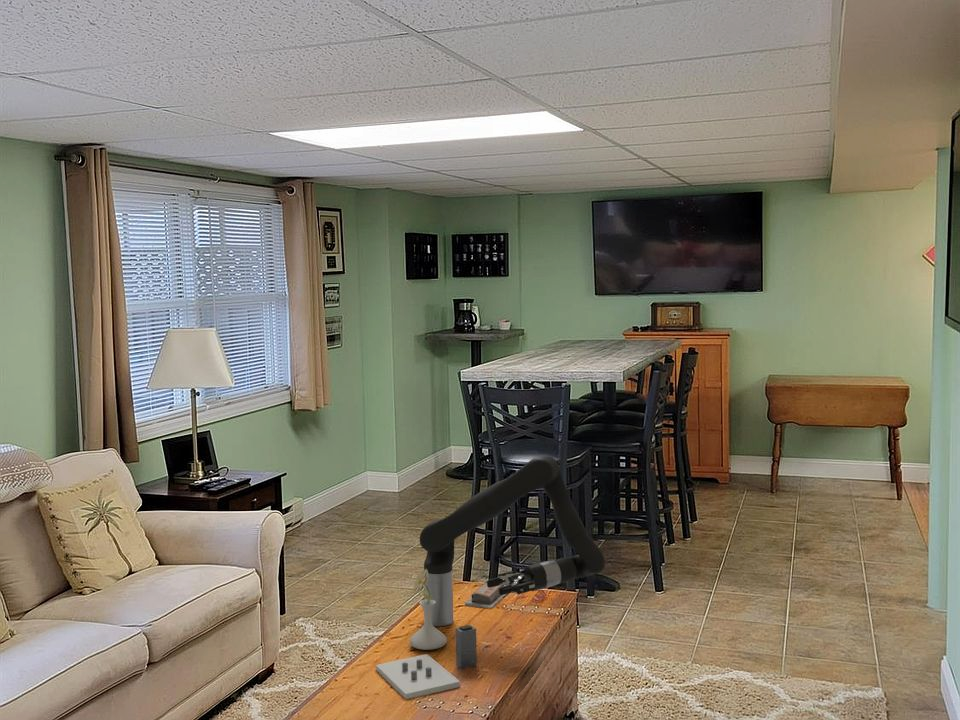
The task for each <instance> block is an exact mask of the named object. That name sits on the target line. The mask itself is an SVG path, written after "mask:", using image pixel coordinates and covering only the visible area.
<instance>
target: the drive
mask: <svg viewBox="0 0 960 720" xmlns="http://www.w3.org/2000/svg"><path fill="white" fill-rule="evenodd" d="M455 653H456V654H455V660H456V662H455V663H456V664H455V665H456V666H457V667H458V669H460V670H465V669H469V668H472V667H473V668H474V667H477V666H478V662H477V657H478V656H477V654H478V652H477V628H476V627H474V626H473V625H471V624H467V625H465V624H464V625H462V626H459V627H456V628H455Z"/></svg>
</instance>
